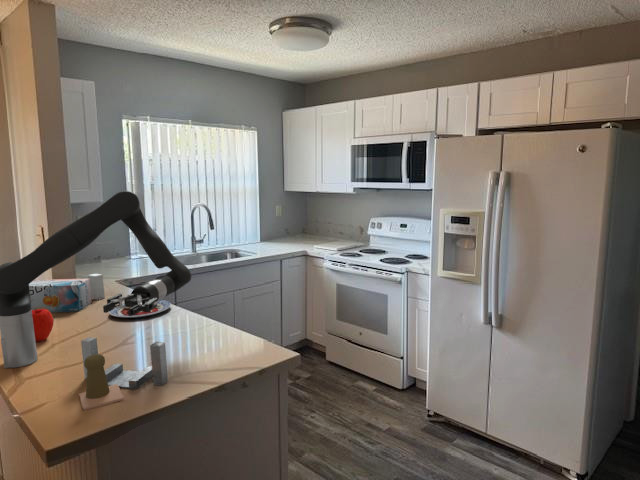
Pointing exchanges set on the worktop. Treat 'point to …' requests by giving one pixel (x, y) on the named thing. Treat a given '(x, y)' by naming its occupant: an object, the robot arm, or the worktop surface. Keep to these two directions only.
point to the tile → (102, 398)
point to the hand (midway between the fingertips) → (116, 311)
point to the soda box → (60, 294)
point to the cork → (96, 377)
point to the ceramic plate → (123, 312)
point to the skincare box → (96, 286)
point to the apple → (42, 323)
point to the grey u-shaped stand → (132, 378)
